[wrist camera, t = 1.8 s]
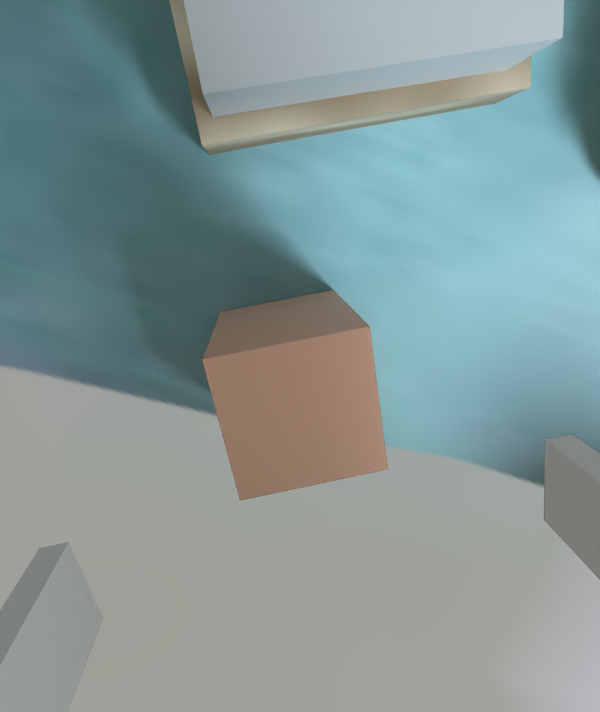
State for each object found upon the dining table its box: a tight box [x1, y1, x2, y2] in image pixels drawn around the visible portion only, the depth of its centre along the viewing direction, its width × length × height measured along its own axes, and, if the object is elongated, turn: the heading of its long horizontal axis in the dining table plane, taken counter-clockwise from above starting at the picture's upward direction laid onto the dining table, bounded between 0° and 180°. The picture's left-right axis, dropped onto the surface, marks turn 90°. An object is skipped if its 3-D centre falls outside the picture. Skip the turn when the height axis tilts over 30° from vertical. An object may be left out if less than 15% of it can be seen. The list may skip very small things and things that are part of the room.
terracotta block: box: [202, 290, 388, 500], centre depth 23 cm, size 7×7×9 cm
